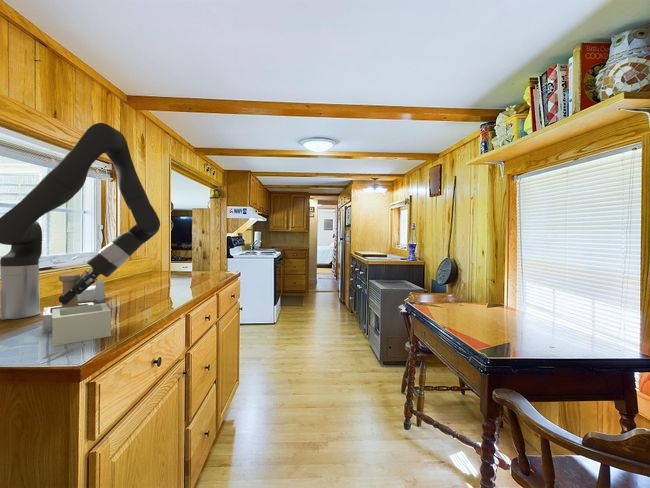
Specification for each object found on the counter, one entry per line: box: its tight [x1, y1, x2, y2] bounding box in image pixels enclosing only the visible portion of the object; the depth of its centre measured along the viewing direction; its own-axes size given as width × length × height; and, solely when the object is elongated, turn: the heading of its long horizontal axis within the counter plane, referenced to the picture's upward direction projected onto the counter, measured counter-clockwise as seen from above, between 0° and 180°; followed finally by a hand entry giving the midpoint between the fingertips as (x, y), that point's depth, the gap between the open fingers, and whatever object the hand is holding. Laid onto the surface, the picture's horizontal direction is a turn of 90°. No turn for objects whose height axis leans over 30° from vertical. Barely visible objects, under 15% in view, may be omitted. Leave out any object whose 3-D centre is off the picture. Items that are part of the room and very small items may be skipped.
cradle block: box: [52, 302, 112, 347], centre depth 85 cm, size 12×12×7 cm
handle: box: [58, 272, 81, 308], centre depth 95 cm, size 5×6×15 cm
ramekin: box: [77, 284, 96, 303], centre depth 131 cm, size 11×11×5 cm
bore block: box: [42, 301, 94, 334], centre depth 95 cm, size 12×12×5 cm
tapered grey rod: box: [93, 279, 106, 304], centre depth 115 cm, size 3×25×15 cm, turn 36°
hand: (61, 301), depth 94 cm, fingers closed on handle, 3 cm apart
